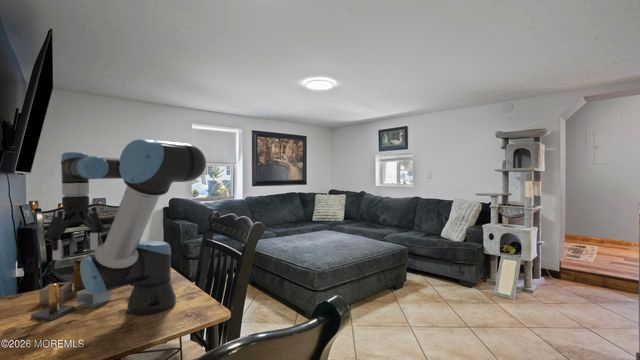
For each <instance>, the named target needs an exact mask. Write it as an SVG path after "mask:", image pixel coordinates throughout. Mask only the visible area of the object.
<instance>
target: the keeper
mask: <svg viewBox="0 0 640 360" xmlns="http://www.w3.org/2000/svg"><path fill="white" fill-rule="evenodd" d="M51 284H52V285H51V286H50V287H49V304H48V305H49V307H45V308H44V309H41V310H38V311H37V312H33V313H31V314H30V318H31V319H36V320H43V321H48V322H51V321H54V320H56V319H58V318H61V317H63V316H65V315H68V314H69V313H71V312H73V311H76V309H77V305H76V306H74V305H69V304H60V303H59V286H58V285H57V284H53V283H51Z"/></svg>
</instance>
